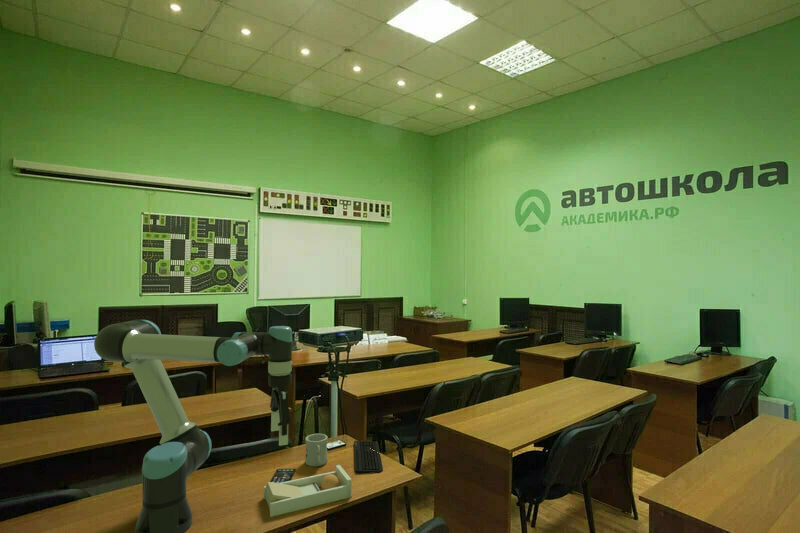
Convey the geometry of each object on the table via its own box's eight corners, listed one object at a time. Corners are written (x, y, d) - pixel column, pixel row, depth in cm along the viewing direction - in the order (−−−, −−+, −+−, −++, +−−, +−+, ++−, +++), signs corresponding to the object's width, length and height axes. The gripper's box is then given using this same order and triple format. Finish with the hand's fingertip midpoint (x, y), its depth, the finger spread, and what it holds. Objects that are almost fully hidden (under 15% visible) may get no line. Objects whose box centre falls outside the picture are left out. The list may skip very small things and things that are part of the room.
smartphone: (296, 468, 169) (287, 487, 154) (296, 470, 169) (287, 489, 154) (277, 468, 168) (266, 487, 154) (277, 470, 168) (266, 489, 154)
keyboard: (383, 473, 166) (383, 468, 166) (355, 475, 165) (355, 470, 165) (378, 443, 195) (378, 439, 195) (353, 444, 194) (354, 440, 194)
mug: (304, 459, 178) (304, 434, 178) (326, 456, 180) (326, 432, 181) (306, 472, 166) (306, 446, 166) (330, 469, 169) (330, 443, 169)
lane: (270, 516, 136) (270, 497, 136) (263, 498, 147) (263, 480, 147) (351, 496, 148) (351, 479, 148) (339, 481, 159) (339, 464, 159)
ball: (322, 495, 146) (327, 477, 147) (317, 488, 152) (322, 470, 153) (338, 497, 149) (343, 479, 150) (332, 489, 154) (337, 472, 155)
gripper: (300, 380, 134) (299, 449, 134) (283, 364, 156) (282, 423, 156) (275, 383, 131) (274, 453, 130) (262, 366, 153) (261, 426, 153)
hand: (279, 437), depth 143 cm, fingers open, 13 cm apart
